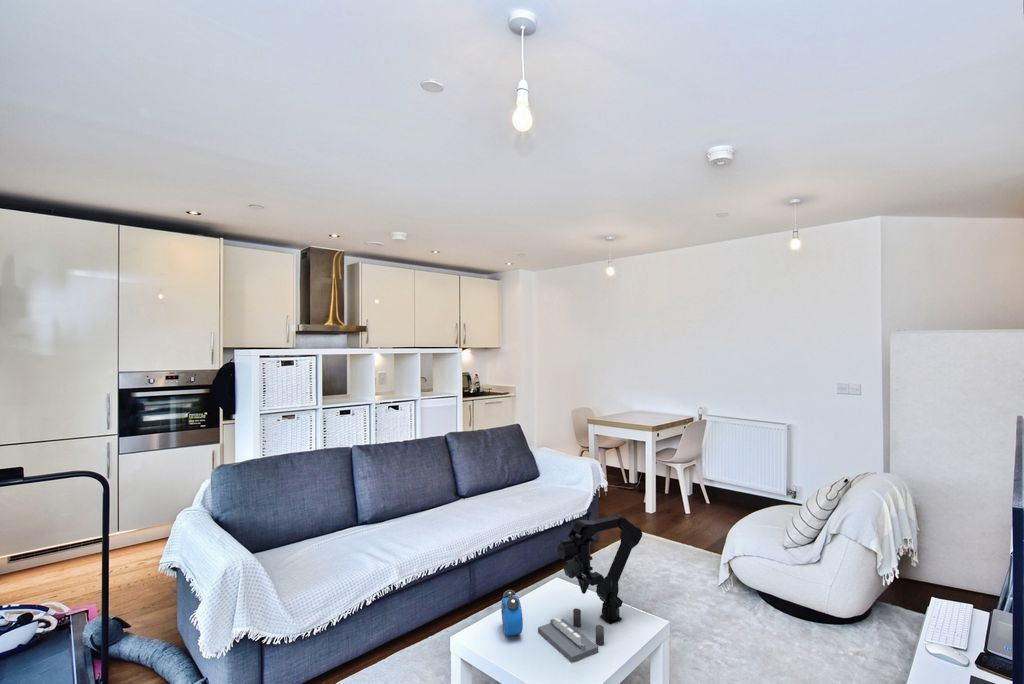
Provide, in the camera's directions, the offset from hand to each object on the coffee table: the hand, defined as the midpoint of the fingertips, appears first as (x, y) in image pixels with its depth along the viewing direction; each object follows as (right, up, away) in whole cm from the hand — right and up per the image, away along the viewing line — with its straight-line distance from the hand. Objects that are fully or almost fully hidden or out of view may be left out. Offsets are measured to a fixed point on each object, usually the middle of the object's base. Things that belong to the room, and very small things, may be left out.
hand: (583, 593), depth 194 cm
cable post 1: (-3, -13, 0) cm, 13 cm away
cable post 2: (+4, -13, -12) cm, 18 cm away
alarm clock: (-29, -14, -4) cm, 32 cm away
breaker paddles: (-8, -10, -11) cm, 16 cm away
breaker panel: (-8, -13, -11) cm, 18 cm away
